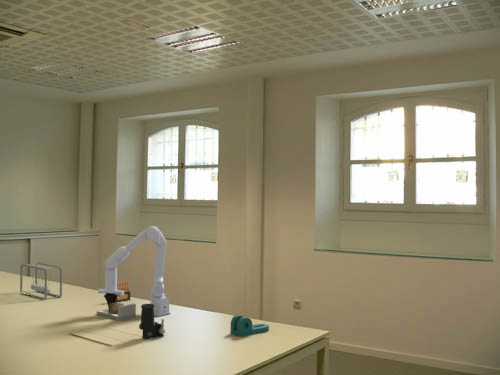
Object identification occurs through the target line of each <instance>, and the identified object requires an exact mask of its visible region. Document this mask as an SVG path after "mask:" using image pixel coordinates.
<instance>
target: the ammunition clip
mask: <svg viewBox="0 0 500 375" xmlns="http://www.w3.org/2000/svg"><path fill="white" fill-rule="evenodd" d="M130 288H131V286H130V279H129V278H127V279H125V280H124V279H123V280H121V279H120V280H117V290H121V291H124V295H122V296H121V295H118V296H117V298H116V300H115V303H117V302H118V303H122V301H123V302H127V301H128V300H129V301H131V291H130V290H131V289H130Z"/></svg>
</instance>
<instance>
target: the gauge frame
mask: <svg viewBox="0 0 500 375" xmlns="http://www.w3.org/2000/svg"><path fill="white" fill-rule="evenodd" d="M136 307H137V304H136V303H128V304H123V305H122V306H118V313H116V314H114V313H109V308H107V309H101V310H97V311H96V315H98V316H101V317H105V318H109V319H113V320H116V321H120V322H121V321H127V320H131V319H135V318H137V314H136V313H137V312H136V311H137V308H136Z"/></svg>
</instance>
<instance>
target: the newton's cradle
mask: <svg viewBox="0 0 500 375" xmlns="http://www.w3.org/2000/svg"><path fill="white" fill-rule="evenodd" d="M23 267H26V268H30V272H31V273H33V272H32V270H33V269H34V276H35V279H34V278H33V275H31V277H32V279H34V282H32V284H31V285H30V289H31V291H36V292H37V291H39V292H38V293H40V292H43V293H42V294H44V293H45V294H44V297H42V296H39V295H36V294H32V293H26V294H29V295H32V296H35V297H38V298H37V299H39V298H41V299H40V300H42V299H45V300H48V298H49V297H47V296H51V295H53V296H51V297H50V299H54V298H55V299H56V298H59V297H60V298H62V296H63V295H62V294H63V268H62V267H61V266H57V265H52V264H48V263H47V264H46V263H41V262H36V263H35V265H33V263H27V264H24V263H22V264H21V265H20V270H19V272H20V278H19V279H20V281H19V284H20V285H19V287H20V288H19V292H20V293H21V292H23V293H24V292H25V291H23V270H24V269H23ZM54 269H58V270H59V271H60V272H59V295H58V294H55V293H51V290H52V289H51V287H49V284H50V282H48V280H50V278H51V277H49V279H48V271H49V270H54ZM38 270H40V272H39V271H38ZM42 271H43V273H42ZM38 272H39V273H38ZM51 274H52V273H51V272H50V274H49V275H51ZM41 276H44V277H41ZM40 277H41V280H40ZM43 279H44V280H43ZM40 281H41V282H43V281H44V284H43V283H41V282H40ZM47 294H49V295H47ZM32 296H31V297H32ZM55 296H56V297H55ZM35 297H34V298H35Z"/></svg>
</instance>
